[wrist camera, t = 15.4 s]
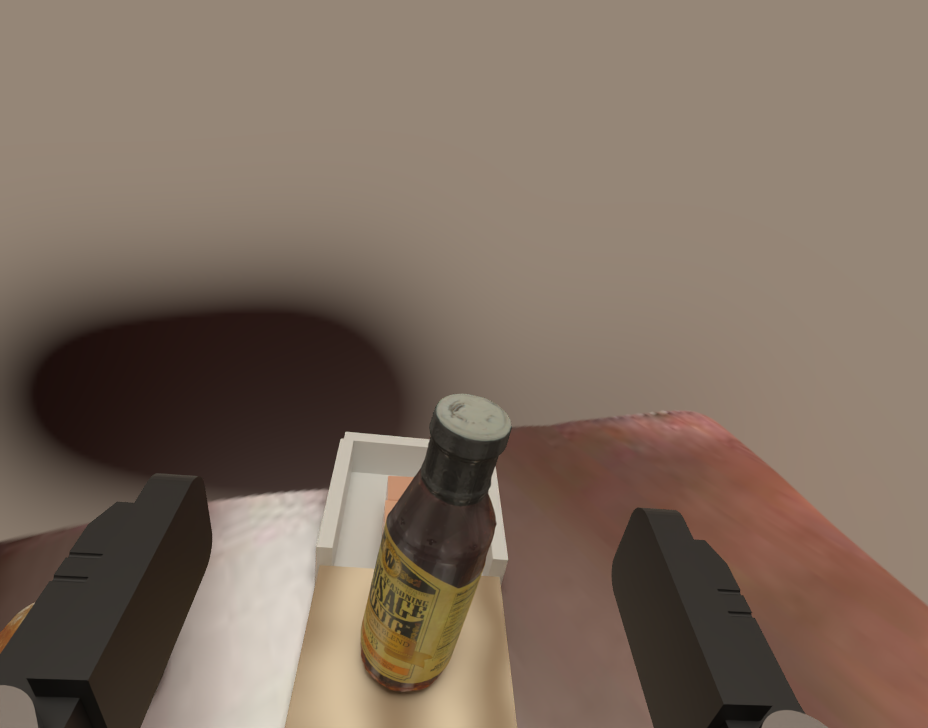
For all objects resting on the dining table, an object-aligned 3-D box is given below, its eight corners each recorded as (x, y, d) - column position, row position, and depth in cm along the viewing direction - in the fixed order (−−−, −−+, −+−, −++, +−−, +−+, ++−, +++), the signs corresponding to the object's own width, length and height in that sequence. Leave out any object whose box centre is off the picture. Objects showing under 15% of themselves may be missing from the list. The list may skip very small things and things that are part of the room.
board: (494, 597, 46) (499, 576, 45) (510, 762, 36) (518, 741, 34) (319, 586, 44) (319, 565, 43) (283, 756, 34) (283, 734, 33)
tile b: (435, 541, 49) (433, 516, 52) (442, 501, 47) (439, 478, 50) (383, 540, 48) (383, 515, 51) (387, 499, 46) (388, 475, 49)
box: (484, 479, 58) (492, 445, 56) (497, 597, 46) (508, 560, 44) (340, 467, 56) (342, 431, 54) (315, 586, 44) (316, 546, 42)
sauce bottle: (341, 634, 38) (383, 383, 29) (420, 601, 42) (479, 369, 33) (385, 723, 34) (451, 459, 25) (469, 678, 37) (553, 434, 28)
